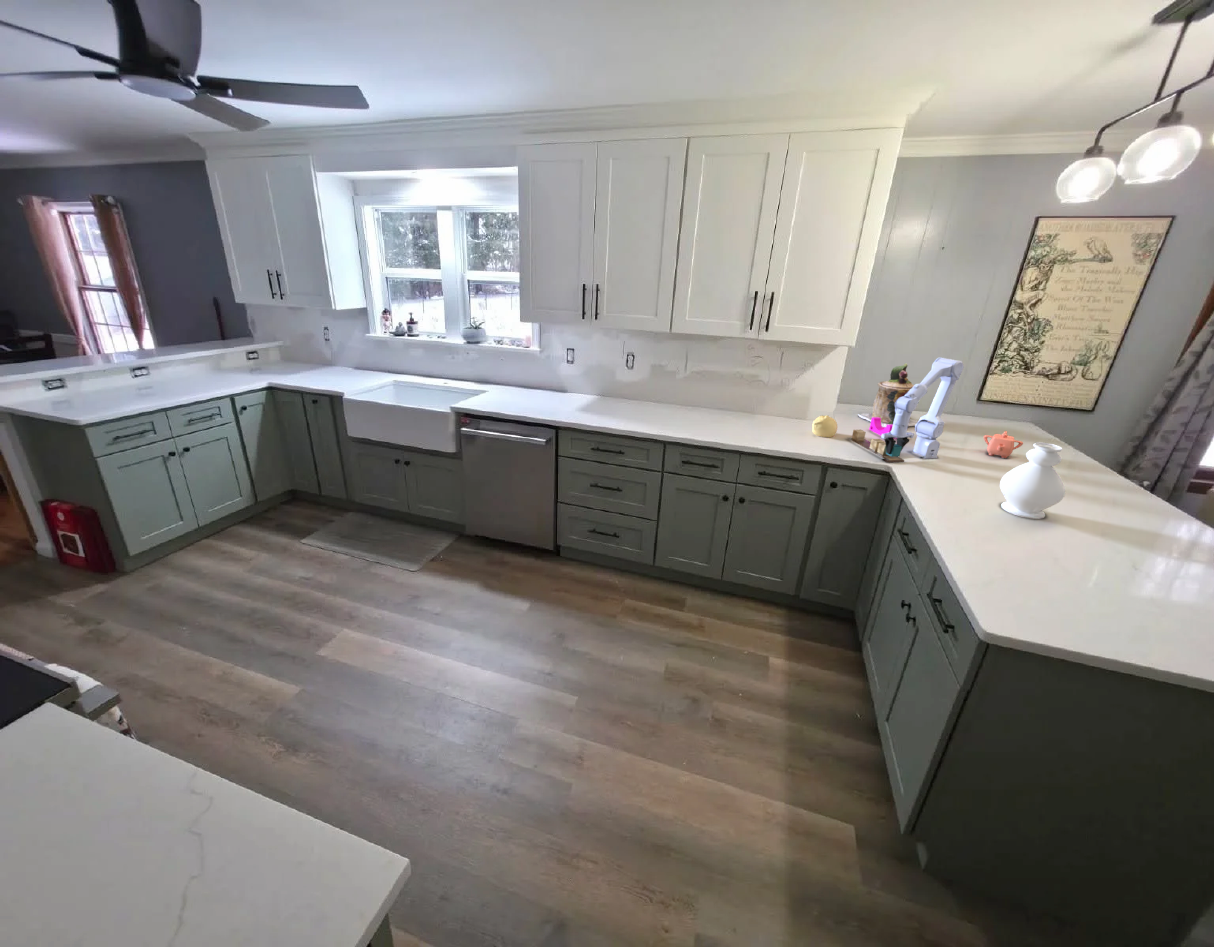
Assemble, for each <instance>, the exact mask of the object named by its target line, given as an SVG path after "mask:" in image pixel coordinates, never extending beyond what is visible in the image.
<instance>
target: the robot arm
mask: <svg viewBox="0 0 1214 947" xmlns="http://www.w3.org/2000/svg"><path fill="white" fill-rule="evenodd" d="M964 368H965V366H964V363H963V360H956V359H953V358H952V359H951V358H948V357H947V358H946V357H942V356H939V357H937V358H936V359H935V360H934V361H933V362H932V364H931V369H930V371H929V372H928V373H927V374H926V375H925V376H924V377H923V379H922V380H921V382H920V383H915V384H913V385H914V386H913V387H912V388H911V389H910V390H909V391H908V392H907V394H906V395H905V396H902V397H899V398H898V399H897V401H896V403H895V413H896V414H895V418H894V422H893V426H892V430H891V431H890V432H889V433H884V434H882V435H880V439H881V440H883V441H885V443H886V453H888V454H891V452H892V449H893V446H894V444H897V445H899V446H901V447H902V449H901V451H903V449H904V448H905V447H906V445H907V444H908V443H909V442H910V439H914V438H915V433H916V439H915V443H914V446H913V450H912V452H913V453H914V454H917V455H919V458H920V459H926V460H927V459H938V454H939V450H940V445H941V443H940V441H938V440H937V439H938V438H939V437H940V436H941V435H942V434H943V432H944V431H943V430H944V426H945V425H946V424H945V421H944V420H943V418H941V417H942V414H943V412H944V410H945V407H946V405H947V404H948V401H949V398H950V396H951V394H952V392H953V389H954V388H955V384H956V382H957V381H959V379H960V377H961V375H962V372H963V370H964ZM939 379H940V383H939V387H938V388H937V390H936V393H935V395H934V397H933V400H932V402H931V404H930V407H929V409H928V411H927V413H926V414H924V415H922V416H920V417H919V420H918V422H917V424H916V425H915V426H914V431H915V433H913V432H910V431H909V432H908V428H909V426H908V423H909V420H910V419H911V415H912V414H911V412H912V413H913V412H914V411H915V410H916V409H917V407H918V404H919V402H920V400H921V399H923V397H925V395H926V394H928V389H929V387H931V386H932V385H933V384H934V383H935V382H936V381H938V380H939ZM894 438H897V439H894ZM909 438H910V439H909Z"/></svg>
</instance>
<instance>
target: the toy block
mask: <svg viewBox="0 0 1214 947" xmlns="http://www.w3.org/2000/svg"><path fill="white" fill-rule="evenodd" d="M892 426H893V424H892V425H887V426H886V427H882V425H881V418H879V417H872V419H871V422H870V423H869V428H868V430H870V432H873V433H876V434H877V435H879V436H881V435H882V434H884V433H889V432H890V431H891V430H892ZM894 440H897V438H894Z"/></svg>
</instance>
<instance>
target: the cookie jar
mask: <svg viewBox="0 0 1214 947" xmlns="http://www.w3.org/2000/svg"><path fill="white" fill-rule="evenodd" d="M907 368H908V363H906V362H905V363H904V364H903V365H898V366H894V367H893V368H892V369H891V370H890V373H889V374H890V379H889V380H884V381H879V382H877V387H878V390H877V392H876V395H875V398H874V401H873V404H872V413H871V412H867V413H858V414H857V417H858V418H861V419H864V420H867V421H868V422H870V423H871V419H872V417H879V418H881V425H882V427H886V426H887V425H892V424H893V422H894V418H895V414H896V413H895V403H896V401H897V399H898V398H899V397H902V396H905V395H906V394H907V392H908V391H909V390H910V389H911V388H912V387H913V386H914V385H915V384H913V383H912V382H911V381H910V380H909V378H908V375H909V374H908V371H907ZM912 414H913V411H912V412H911V415H912ZM918 421H919V420H916V419H912V418H910V420H909V423H908V427H915V425H916V424H917V422H918Z"/></svg>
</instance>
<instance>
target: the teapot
mask: <svg viewBox="0 0 1214 947" xmlns="http://www.w3.org/2000/svg"><path fill="white" fill-rule="evenodd" d="M988 438H991V439H990V440H988ZM983 441H984V442H985V443H986V444H987V447H986V449H987V450H986V451H987V453H988V454H987V455H988V456H991V457H993V456H995V455H996V456H1000V457H1001V459H1007V458H1008V457H1010V456H1011V455H1012V454H1013V453H1014V452H1013V451H1014V450H1016V449H1018V448H1021V447H1022V446H1023V445H1024V441H1022V440H1016V439H1015V437H1014V436H1013V435H1012V436H1011V435H1009V434H1008V431H1007V430H1004V431H1003V433H1001V434H1000V433H994V434H993V435H990V434H985V435H983ZM1015 443H1018V444H1017V445H1016V446H1015Z"/></svg>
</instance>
